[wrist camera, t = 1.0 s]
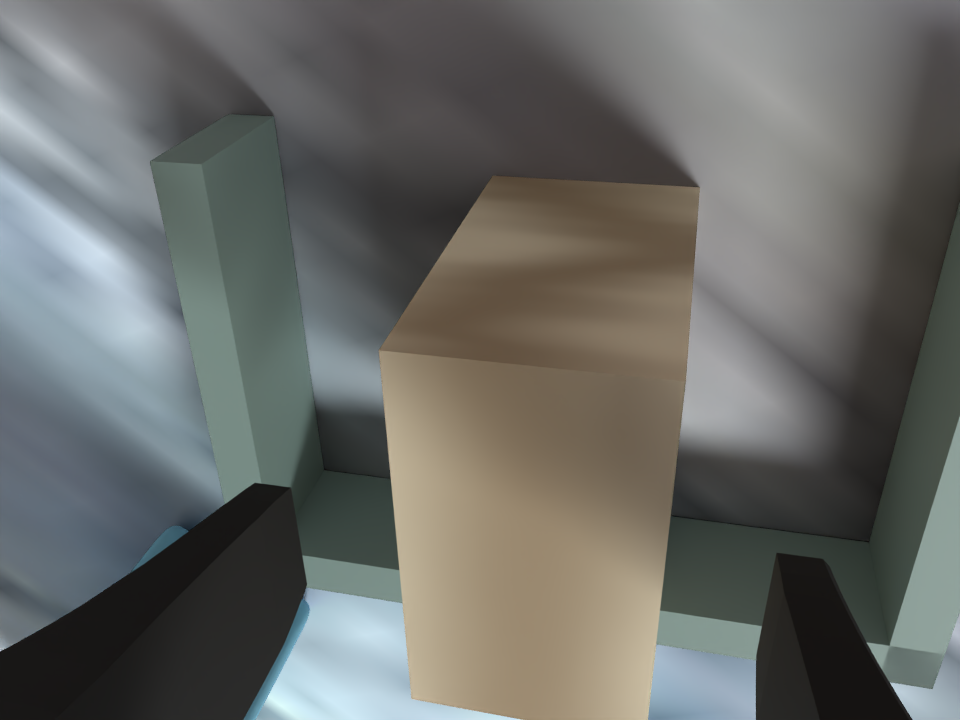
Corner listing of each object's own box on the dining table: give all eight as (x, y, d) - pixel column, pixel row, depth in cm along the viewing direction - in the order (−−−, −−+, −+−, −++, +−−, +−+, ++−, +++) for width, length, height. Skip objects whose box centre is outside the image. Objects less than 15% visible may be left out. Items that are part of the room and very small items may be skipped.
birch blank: (699, 186, 17) (685, 381, 11) (668, 479, 20) (644, 741, 15) (493, 174, 18) (379, 350, 12) (497, 458, 21) (411, 699, 16)
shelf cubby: (1038, 151, 15) (1099, 216, 13) (907, 581, 20) (932, 689, 18) (228, 114, 18) (149, 161, 16) (292, 495, 23) (240, 576, 21)
